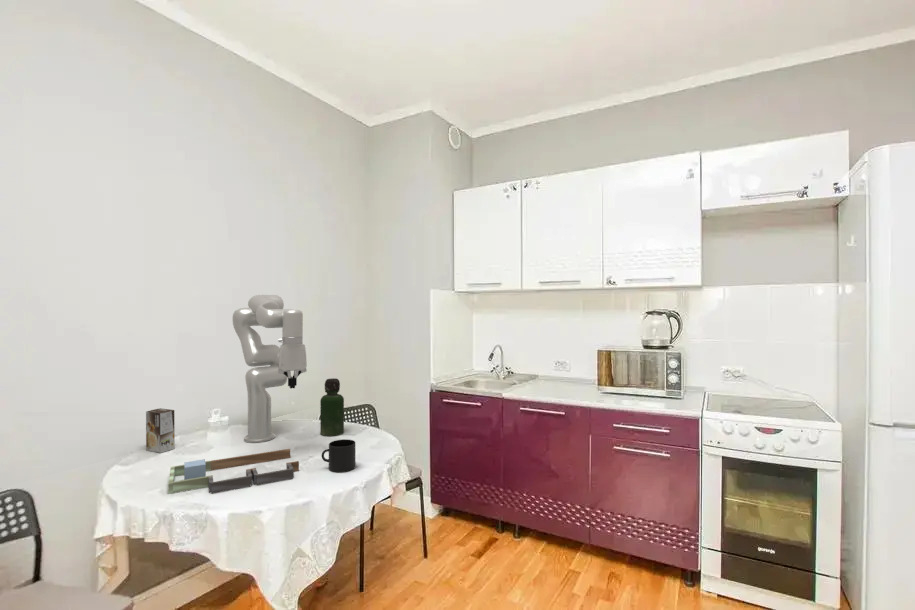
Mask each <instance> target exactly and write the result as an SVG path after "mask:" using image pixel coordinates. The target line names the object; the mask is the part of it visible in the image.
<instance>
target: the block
mask: <svg viewBox="0 0 915 610" xmlns="http://www.w3.org/2000/svg"><path fill="white" fill-rule="evenodd" d="M205 461H206V459H197V460H191V461H184V464H183V465H184V475H183V476H184V477H183V478H184V479H183V480H186V479H192V478H199V477H205V476H207V475H206V472H207V471H206V463H205Z"/></svg>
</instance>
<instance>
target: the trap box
mask: <svg viewBox="0 0 915 610" xmlns="http://www.w3.org/2000/svg"><path fill="white" fill-rule="evenodd" d="M290 458H291V449H290V448H285V449H279V450H272V451H265V452H259V453H254V454H253V453H252V454H247V455H245V454H244V455H239V456H232V457H227V458H219V459H214V460H207V461H206V460H205V463H206V472H209V471H210V472H211V471H216V470H217V471H218V470H223V469H224V470H225V469H229V468H235V467H241V466H249V465H255V464H260V463H266V462H273V461H279V460H286V459H290ZM285 467H286V468H285V469H280V470H274V471H269V472H263V473H258V471H257V470H258V469H257V467H254V468H248V469H245V476H240V477H234V478H229V479H222V480H215V481H214V475H206V476H205V477H199V478H192V479H186V480H184V479H182V480H175V479H176V478H175V477H178V476H179V477H180V476H184V464H181V465H173V466H170V470H169V476H168V484H167V485H168V488H167V489H168V493H167V494H168V495H172V494H175V492H177V493H181V492H180V491H183V492H187V491H186V490H188V491H192V490H191V489H194V490H198V488H200V489H204V488H208V494H209V493H211V494H217V493H224V492H228V491H233V490H234V489H235V490H239V489H240V490H241V489H244V488H249V487H251V486H253V485H256V486H261V485H266V484H267V485H268V484H271V483H278V482H282V481H288V480H292V479H293V478H294V473H295V472H299V471H300V462H299V460H295V461H290V462H289V461H288V462H286V465H285Z"/></svg>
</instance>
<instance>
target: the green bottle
mask: <svg viewBox="0 0 915 610" xmlns="http://www.w3.org/2000/svg"><path fill="white" fill-rule="evenodd" d="M340 387H341V382H340V380H339V379H338V378H334V377H333V378H326V380H325V382H324V392H325V393H326V394H324V395H323V396H322V397H321V398H320V403H319V404H320V406H319V408H320V409H319V410H320V411H319V412H320V423H319V424H320V426H319V427H320V432H319V433H320V435H322V436H324V437H335V436H339V435H342V434H344V433H345V404H344V403H345V397H344V396H343V395H342V394H339V392H340Z"/></svg>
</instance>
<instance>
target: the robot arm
mask: <svg viewBox="0 0 915 610" xmlns="http://www.w3.org/2000/svg"><path fill="white" fill-rule="evenodd" d="M284 306H285V305H284V300H283V298H282V297H281V296H279V295H277V294H257V295H256V294H255V295H253V296H251V297H250V298H249V300H248V302H247V307H240V308H238V309H235V310H234V312H233V314H232V325H233V328H234V331H235V333H236V336H237V337H238V339H239V341H240V346H241V350H242V353H243V358H244V361H245V364H246V366H248V367H253V368H250V369H248V370H247V371H246V374H245V376H244V377H245V384H246V391H247V393H246V394H247V435H245V436H244V437H243V441H244V442H246V443H262V442H269V441H271V440H273V439H274V438H275V437H276V434H275V433H274V432H272V397H271V395H270V393H268V391H267V390H266V389H269V388H277V387H282V386H284V385H286V384H287V387H289V389H296V387H297V383H298V382H297V381H298V380H297V379H298V377H299V376H300V375H301V374H303V373H304V374H305V373H307V371H308V370H307V366H308V365H307V364H308V363H307V361H308V360H307V351H306V349H307V348H306V344H303V337H304V336H303V335H304V333H303V332H304V331H303V326H304V325H303V324H304V323H303V321H304V320H303V319H304V318H303V317H304V316H303V311H301V310H299V309H291V308H290V309H289V308H285V309H284ZM257 326H258V327H260V326H261V327H263V328H266V329H282V330H281V332H282V334H281V335H282V337H281V338H278V339H277V340H278V343H281V345H280V346H278V345H277V344H263V342H262V338H261V335H260V334H259V333H258V332H257V331H256V330H255V329H254V328H252V327H257ZM291 371H292V372H293V375H292V374H291Z"/></svg>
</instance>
